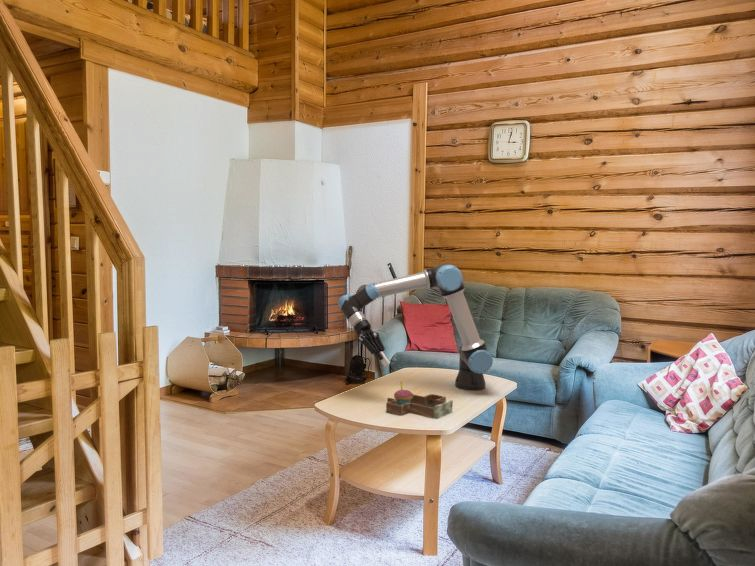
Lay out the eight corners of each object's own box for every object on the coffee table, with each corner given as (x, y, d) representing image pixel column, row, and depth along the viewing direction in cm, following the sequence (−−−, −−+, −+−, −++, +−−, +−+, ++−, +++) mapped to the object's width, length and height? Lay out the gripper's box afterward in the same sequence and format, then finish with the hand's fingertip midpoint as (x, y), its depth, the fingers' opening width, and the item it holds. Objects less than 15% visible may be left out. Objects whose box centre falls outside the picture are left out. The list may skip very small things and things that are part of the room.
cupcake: (389, 405, 263) (390, 378, 262) (402, 402, 269) (403, 375, 268) (404, 409, 257) (404, 382, 256) (417, 406, 263) (418, 379, 262)
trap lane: (412, 398, 275) (413, 387, 275) (460, 409, 260) (460, 397, 260) (378, 410, 255) (378, 398, 255) (426, 422, 239) (427, 410, 239)
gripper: (364, 327, 283) (391, 367, 274) (346, 330, 273) (373, 372, 264) (373, 317, 279) (401, 357, 270) (355, 319, 269) (383, 362, 260)
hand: (387, 364), depth 267 cm, fingers closed
